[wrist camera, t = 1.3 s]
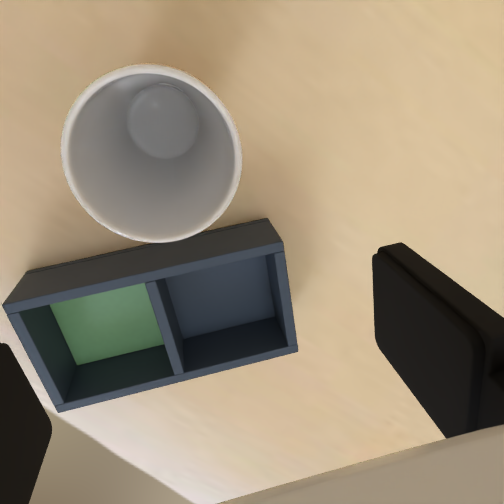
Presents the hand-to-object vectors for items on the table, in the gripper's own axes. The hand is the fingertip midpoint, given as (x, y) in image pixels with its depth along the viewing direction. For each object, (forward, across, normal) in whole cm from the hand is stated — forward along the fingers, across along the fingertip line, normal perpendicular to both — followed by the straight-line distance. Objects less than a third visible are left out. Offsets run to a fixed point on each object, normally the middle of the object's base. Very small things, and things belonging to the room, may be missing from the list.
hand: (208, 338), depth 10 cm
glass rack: (+22, +4, +11) cm, 25 cm away
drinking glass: (+22, +1, -3) cm, 22 cm away
